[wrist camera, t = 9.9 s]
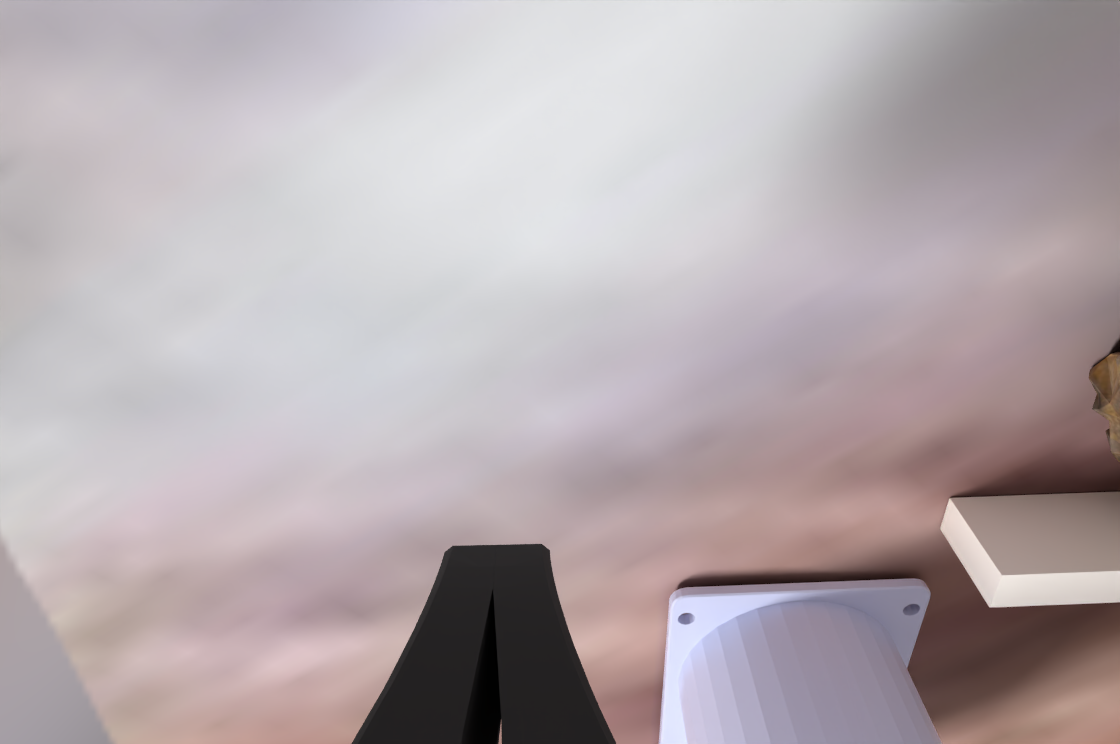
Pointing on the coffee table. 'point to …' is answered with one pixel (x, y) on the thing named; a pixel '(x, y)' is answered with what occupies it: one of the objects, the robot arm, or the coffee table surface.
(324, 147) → the coffee table surface
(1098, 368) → the decorative rock
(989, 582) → the box
